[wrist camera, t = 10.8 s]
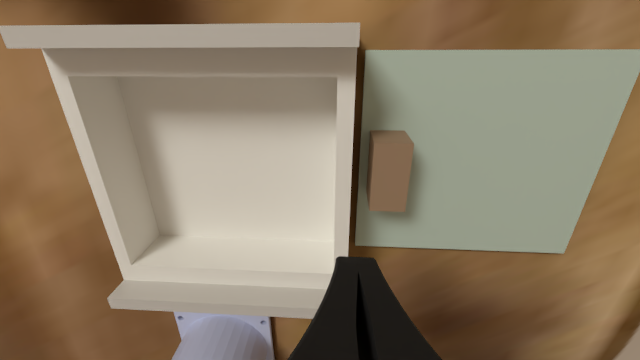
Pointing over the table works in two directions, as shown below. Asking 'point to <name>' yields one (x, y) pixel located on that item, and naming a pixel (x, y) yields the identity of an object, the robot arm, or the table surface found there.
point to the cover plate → (484, 145)
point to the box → (213, 156)
